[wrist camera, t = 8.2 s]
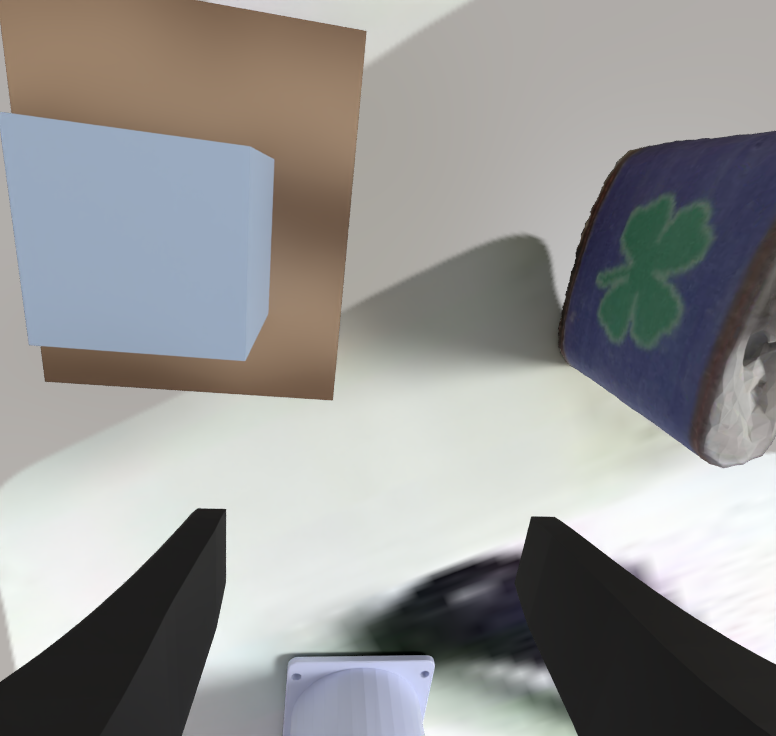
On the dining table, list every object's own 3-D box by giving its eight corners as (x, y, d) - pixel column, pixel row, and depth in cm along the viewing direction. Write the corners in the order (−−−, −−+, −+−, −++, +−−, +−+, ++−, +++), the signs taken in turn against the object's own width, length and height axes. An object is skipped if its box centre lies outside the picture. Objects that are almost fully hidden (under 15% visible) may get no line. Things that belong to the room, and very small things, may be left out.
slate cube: (268, 313, 17) (245, 361, 12) (115, 299, 16) (28, 345, 11) (274, 159, 15) (250, 146, 11) (104, 136, 14) (-3, 111, 10)
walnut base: (332, 376, 21) (332, 400, 18) (79, 358, 19) (44, 381, 17) (361, 53, 17) (366, 31, 14) (44, -2, 15) (-7, -36, 13)
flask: (598, 369, 22) (820, 517, 12) (539, 359, 22) (720, 504, 12) (678, 154, 19) (1061, 113, 9) (612, 136, 19) (941, 72, 9)
